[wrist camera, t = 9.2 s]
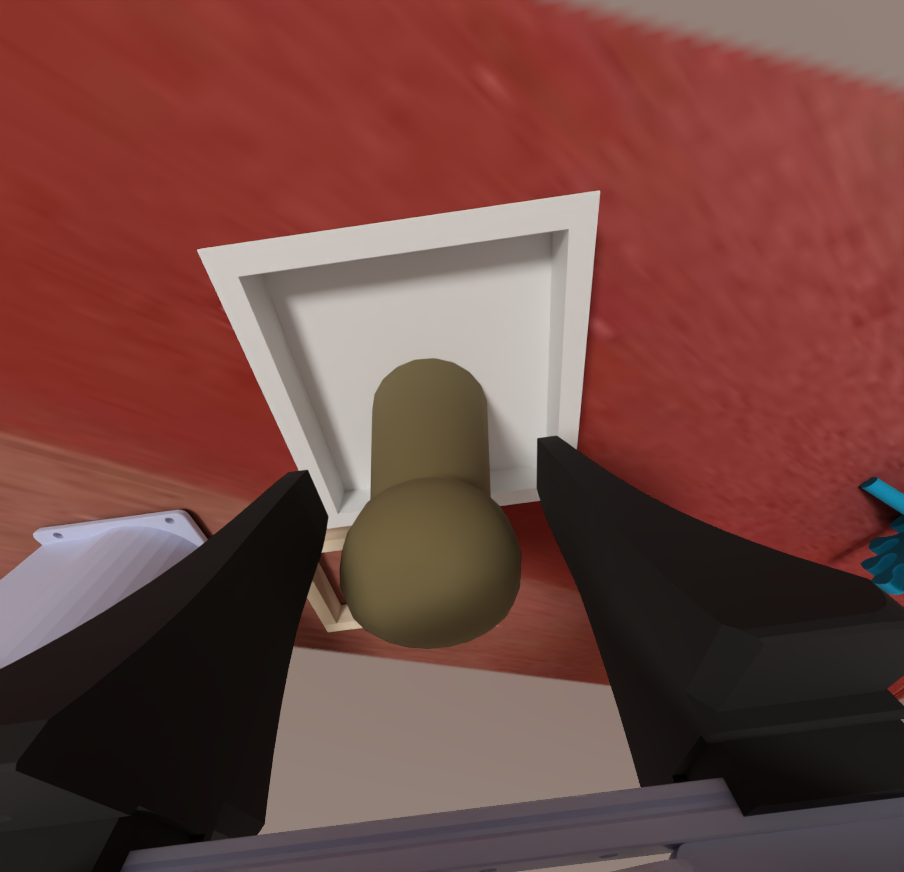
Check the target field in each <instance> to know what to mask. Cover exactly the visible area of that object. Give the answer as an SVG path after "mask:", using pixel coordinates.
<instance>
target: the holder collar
mask: <svg viewBox="0 0 904 872" xmlns="http://www.w3.org/2000/svg"><path fill="white" fill-rule="evenodd" d="M350 528H351V526H345V527H337V528H330V529H327V530H326V536H325V541H324V546H323V549H322V553H323V552H330V551H338V550H342V549H343V545H344V542H345V538H346V535H347V532H348V531H349V529H350ZM307 598H308V600H309V601H310V603H311V605H312V606H313V608H314V610H315V611H316V613H317V615H318V616H319V618H320V620H321V621H322V623H323V625H324V627H325V628H326V630H327V632H333V631H341V630H349V629H357V628H363V627H362V626H360V625H359V624H358V623H357V622H356V621H355V620H354V619H353V617H352V615H351V612H350V610H349V608H348V605H347V604H345V605H341V604H340V602H339V600H338V598H337V596H336V595H335V593H334V591H333V589H332V587H331V585H330V583H329V581H328V579H327V577H326V575H325V573H324V571H323V569H322V567H321V566H320V564H319V562H318V565H317V569H316V572H315V575H314V578H313V581H312V584H311V587H310V590H309V593H308V596H307Z"/></svg>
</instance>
